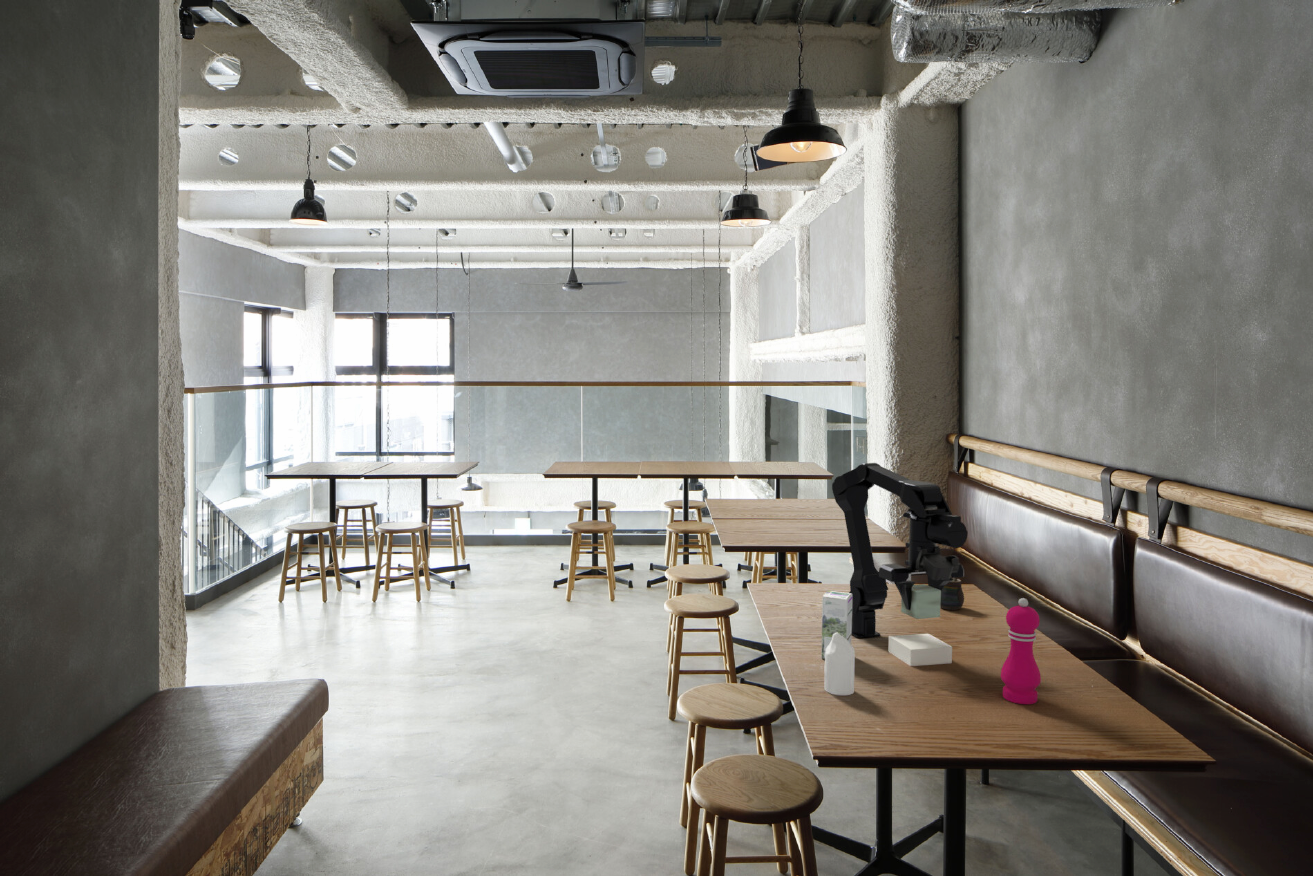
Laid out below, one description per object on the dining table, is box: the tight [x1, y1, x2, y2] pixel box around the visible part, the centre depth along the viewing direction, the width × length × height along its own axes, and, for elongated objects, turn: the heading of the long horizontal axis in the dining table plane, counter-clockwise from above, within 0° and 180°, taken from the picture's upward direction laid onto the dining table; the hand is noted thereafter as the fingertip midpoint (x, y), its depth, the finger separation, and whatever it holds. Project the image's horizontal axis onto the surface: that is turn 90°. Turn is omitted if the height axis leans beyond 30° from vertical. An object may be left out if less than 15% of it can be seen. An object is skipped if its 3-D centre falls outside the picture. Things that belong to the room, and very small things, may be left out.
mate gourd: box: [940, 577, 965, 611], centre depth 229 cm, size 7×8×10 cm
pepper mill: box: [1000, 597, 1042, 705], centre depth 163 cm, size 7×7×20 cm
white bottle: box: [823, 633, 856, 696], centre depth 167 cm, size 6×12×6 cm
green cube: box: [900, 583, 941, 620], centre depth 187 cm, size 6×6×6 cm
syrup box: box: [820, 590, 852, 660], centre depth 187 cm, size 6×6×14 cm
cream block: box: [887, 633, 953, 667], centre depth 188 cm, size 10×10×4 cm
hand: (920, 608), depth 187 cm, fingers closed on green cube, 6 cm apart
